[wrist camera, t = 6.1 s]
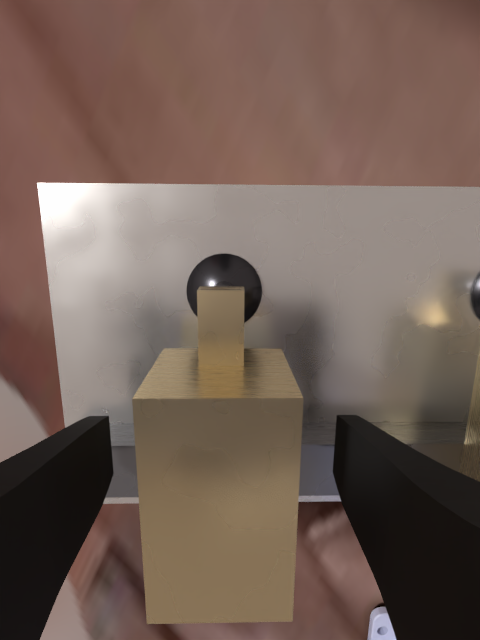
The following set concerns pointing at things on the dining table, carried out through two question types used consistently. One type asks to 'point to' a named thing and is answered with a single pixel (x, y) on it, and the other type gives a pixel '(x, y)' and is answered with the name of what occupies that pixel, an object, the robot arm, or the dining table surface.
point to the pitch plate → (276, 304)
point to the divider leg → (218, 474)
